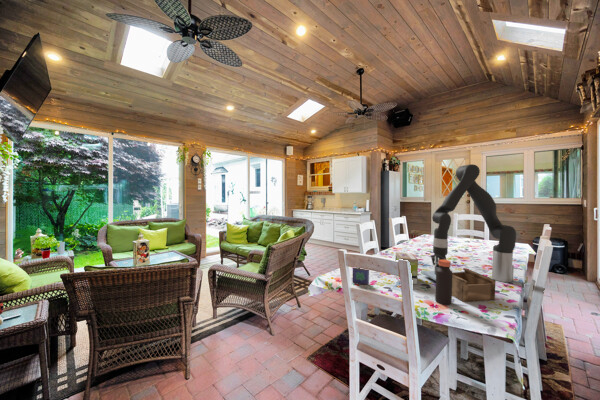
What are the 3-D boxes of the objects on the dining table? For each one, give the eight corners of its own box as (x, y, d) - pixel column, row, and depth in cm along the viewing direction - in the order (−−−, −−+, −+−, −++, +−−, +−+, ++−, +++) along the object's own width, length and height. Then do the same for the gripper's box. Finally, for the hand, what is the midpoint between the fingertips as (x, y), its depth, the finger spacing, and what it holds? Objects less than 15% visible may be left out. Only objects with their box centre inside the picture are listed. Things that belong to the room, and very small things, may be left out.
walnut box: (437, 287, 137) (438, 269, 136) (465, 286, 139) (466, 268, 138) (462, 301, 119) (463, 281, 119) (494, 300, 121) (495, 280, 121)
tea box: (417, 284, 140) (418, 259, 139) (399, 283, 142) (399, 258, 141) (411, 275, 155) (412, 252, 154) (394, 274, 157) (395, 251, 156)
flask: (369, 283, 141) (369, 265, 140) (368, 285, 138) (368, 266, 138) (352, 281, 144) (353, 263, 144) (351, 283, 142) (352, 264, 141)
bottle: (442, 298, 123) (443, 258, 122) (454, 304, 117) (456, 262, 116) (431, 299, 121) (433, 259, 120) (444, 306, 115) (445, 263, 114)
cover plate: (421, 272, 154) (421, 264, 154) (441, 272, 156) (442, 263, 156) (436, 281, 140) (436, 271, 140) (458, 280, 142) (458, 271, 142)
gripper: (454, 248, 141) (453, 278, 142) (438, 243, 155) (437, 270, 156) (442, 248, 140) (441, 278, 141) (427, 243, 154) (426, 270, 155)
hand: (439, 274), depth 148 cm, fingers closed on cover plate, 3 cm apart
